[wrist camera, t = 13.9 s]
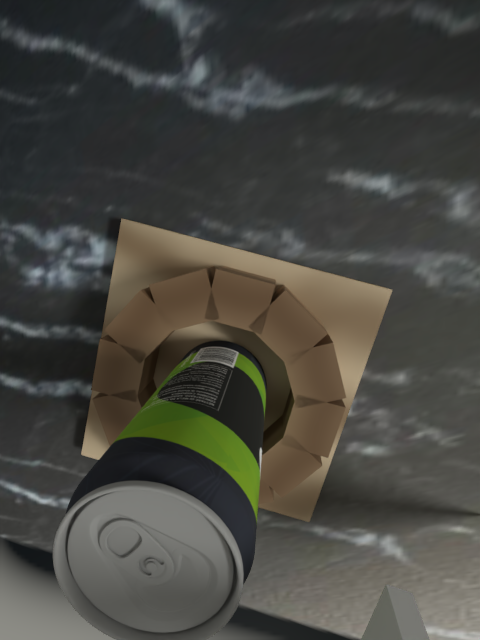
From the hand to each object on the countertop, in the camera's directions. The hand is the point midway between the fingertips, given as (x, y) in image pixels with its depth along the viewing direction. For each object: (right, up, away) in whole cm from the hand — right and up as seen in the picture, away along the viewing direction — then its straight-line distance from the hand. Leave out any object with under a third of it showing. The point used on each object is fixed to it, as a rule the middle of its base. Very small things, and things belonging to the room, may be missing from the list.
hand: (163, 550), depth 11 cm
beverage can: (+1, +3, +14) cm, 15 cm away
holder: (+1, +3, +15) cm, 15 cm away
